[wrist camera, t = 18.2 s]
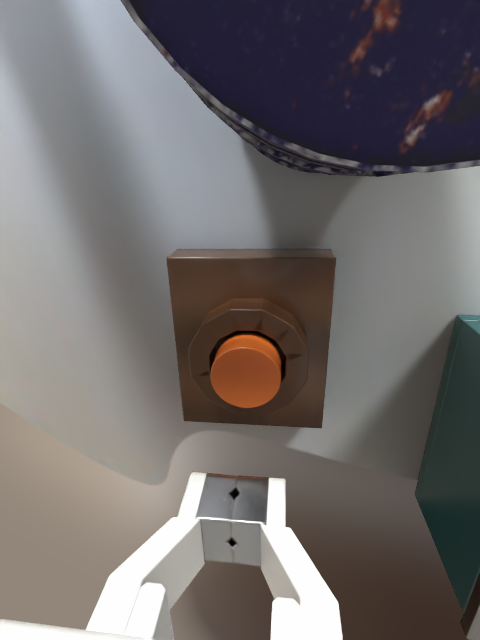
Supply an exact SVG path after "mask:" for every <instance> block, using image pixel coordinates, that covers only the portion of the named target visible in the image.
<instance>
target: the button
mask: <svg viewBox="0 0 480 640" xmlns="http://www.w3.org/2000/svg"><path fill="white" fill-rule="evenodd" d="M210 378H211V383H212V386H213V388H214V390H215V392H216V393H217V394H218V395H219V396H220V397H221V398H222V399H223V400H224V401H226V402H227V403H229V404H231V405H234V406H237V407H241V408H254V407H259V406H261V405H264V404H266V403H267V402H269V401H270V400H271V399H273V398H274V396H275V395H276V394H277V392H278V390H279V388H280V384H281V358H280V354H279V352H278V350H277V348H276V347H275V346H274V344H273V343H272V342H270V341H269V340H268V339H266V338H265V337H263V336H261V335H257V334H253V333H240V334H236V335H233V336H231V337H229V338H228V339H226V340H225V341H224V342H223V343H222V344H221V346H220V347H219V349H218V351H217V354H216V357H215V359H214V362H213V365H212V368H211V373H210Z"/></svg>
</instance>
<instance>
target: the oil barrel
mask: <svg viewBox="0 0 480 640" xmlns="http://www.w3.org/2000/svg"><path fill="white" fill-rule="evenodd" d="M121 2H122V3H123V5H124V6H125V8H126V10H127V11H128V13H129V14H130V16H131V18H132V19H133V21H134V22H135V23H136V24H137V26H138V27H139V28H140V29H141V30H142V31H143V33H144V34H145V35H146V36H147V37H148V39H149V40H150V41H151V42H152V43H153V45H154V46H155V47H156V48H157V49H158V50H159V52H160V53H161V54H162V55H163V56H164V58H165V59H166V60H167V61H168V62H169V64H170V65H171V66H172V67H173V68H174V70H175V71H176V72H177V73H178V74H180V75H181V76H182V77H183V79H184V80H185V81H186V82H187V83H188V85H189V86H190V87H191V88H192V89H193V91H194V92H195V93H196V94H197V95H198V96H199V98H200V99H201V100H202V101H203V102H204V104H205V105H206V106H207V107H208V108H209V109H210V110H211V111H212V112H213V113H215V114H216V115H217V116H218V117H219V118H220V119H221V120H223V121H224V122H225V123H226V124H227V125H228V126H229V127H231V128H232V129H233V130H234V131H235V132H236V133H237V134H239V135H240V136H241V137H242V138H243V139H244V140H246V141H247V142H248V143H250V144H251V145H252V146H254V147H255V148H256V149H257V150H258V151H259V152H261V153H262V154H263V155H265V156H267V157H268V158H270V159H271V160H273V161H275V162H276V163H279V164H281V165H284V166H286V167H289V168H291V169H295V170H300V171H304V172H310V173H324V174H329V175H350V176H376V177H380V176H388V175H396V174H404V173H412V172H434V171H442V170H450V169H458V168H466V167H474V166H480V0H121Z"/></svg>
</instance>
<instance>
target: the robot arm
mask: <svg viewBox="0 0 480 640" xmlns="http://www.w3.org/2000/svg"><path fill="white" fill-rule="evenodd" d="M285 485H286V482H285V479H280V478H268V477H252V476H250V477H249V476H232V475H222V474H211V473H200V472H192V474H191V475H190V477H189V481H188V484H187V487H186V490H185V494H184V497H183V500H182V503H181V506H180V510H179V513H178V516H177V517H172V518H171V519H170V520H169V521H168V522H167V523H166V524H165V525H164V526H162V527H161V528H160V529H159V530H158V531H157V532H156V533H155V534H154V535H153V536H152V537H150V538H149V539H148V540H147V541H146V542H145V543H144V544H143V545H142V546H141V547H140V548H139V549H138V550H136V552H134V553H133V554H132V555H131V556H130V557H129V558H128V559H127V560H126V561H125V562H124V563H122V565H120V566H119V567H118V568H117V569H116V570H115V571H114V572H113V573H112V574H111V575H110V576H109V577H108V580H107V582H106V584H105V587H104V589H103V591H102V593H101V596H100V598H99V600H98V603H97V605H96V607H95V610H94V612H93V614H92V617H91V619H90V621H89V623H88V626H87V628H86V630H82V629H74V628H66V627H59V626H52V625H44V624H37V623H29V622H22V621H14V620H6V619H0V640H174V634H173V629H172V622H171V618H170V612H169V611H170V609H171V608H172V607H173V605H174V604H175V603H176V601H177V600H178V598H179V597H180V596H181V595H182V593H183V592H184V590H185V589H186V588H187V586H188V585H189V584H190V583H191V581H192V580H193V579H194V577H195V576H196V575H197V573H198V572H199V571H200V569H201V568H202V567H203V565H204V564H205V562H218V563H231V564H239V565H246V566H254V567H261V570H262V572H263V574H264V577H265V579H266V581H267V584H268V586H269V588H270V590H271V593H272V595H273V597H274V601H273V602H272V623H271V640H343V638H342V630H341V622H340V613H339V606H338V602H337V600H336V598H335V597H334V595H333V594H332V592H331V591H330V589H329V587H328V586H327V584H326V583H325V581H324V580H323V578H322V577H321V575H320V573H319V572H318V570H317V569H316V567H315V566H314V564H313V562H312V561H311V559H310V558H309V556H308V554H307V553H306V552H305V550H304V548H303V547H302V545H301V544H300V542H299V540H298V539H297V537H296V536H295V535H294V532H293V531H292V529H291V528H288V527H286V509H285V508H286V507H285V506H286V499H285V498H286V489H285V488H286V486H285Z"/></svg>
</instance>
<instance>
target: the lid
mask: <svg viewBox="0 0 480 640" xmlns="http://www.w3.org/2000/svg"><path fill="white" fill-rule="evenodd" d="M461 625H462V628H463V630H464V633H465V635H466V638H467V639H471V640H480V573H479V576H478V578H477V581H476V583H475V586H474V589H473V591H472V594H471V596H470V599H469V602H468V604H467V607H466V609H465V612H464V615H463V617H462V620H461Z"/></svg>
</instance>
